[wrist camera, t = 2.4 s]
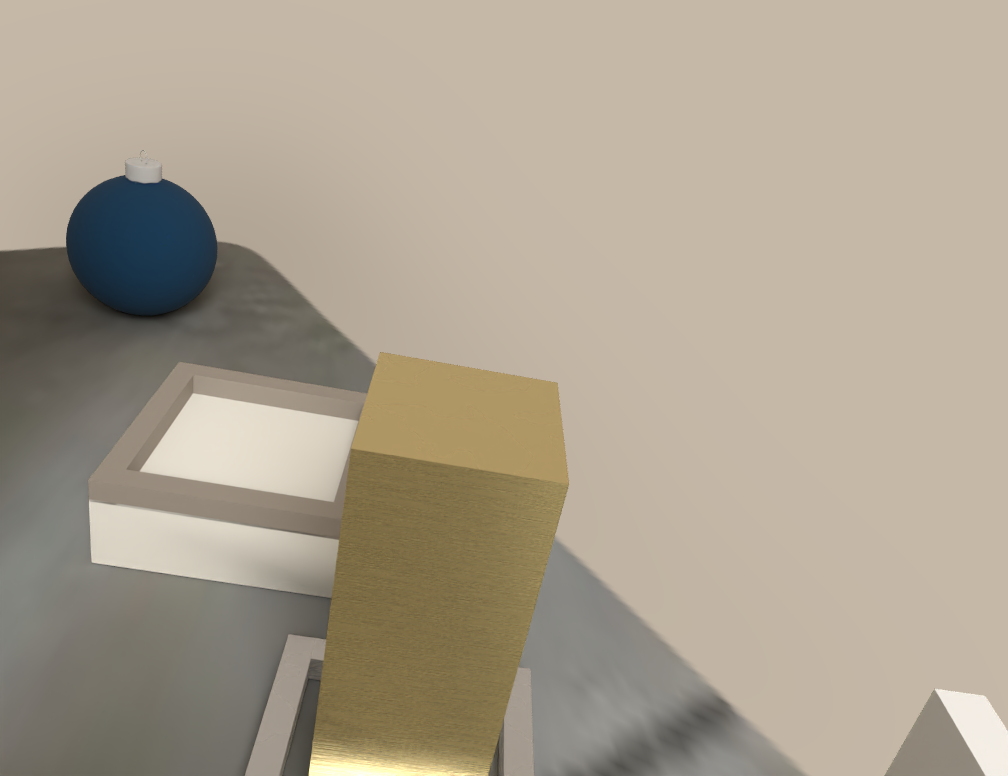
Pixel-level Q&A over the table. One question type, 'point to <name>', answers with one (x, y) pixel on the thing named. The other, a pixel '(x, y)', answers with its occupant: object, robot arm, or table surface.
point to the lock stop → (437, 567)
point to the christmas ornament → (141, 242)
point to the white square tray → (229, 481)
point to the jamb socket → (307, 663)
